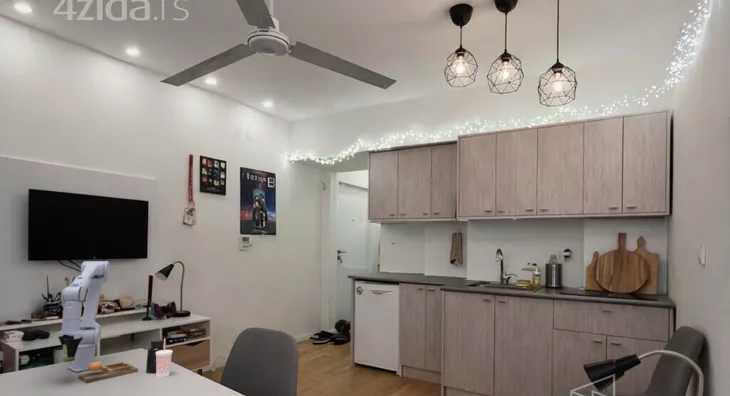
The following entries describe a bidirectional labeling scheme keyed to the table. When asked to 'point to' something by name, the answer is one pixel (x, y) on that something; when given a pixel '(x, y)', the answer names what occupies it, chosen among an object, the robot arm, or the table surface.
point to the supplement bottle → (153, 354)
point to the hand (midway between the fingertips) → (69, 355)
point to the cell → (64, 356)
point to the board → (108, 372)
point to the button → (95, 366)
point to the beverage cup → (163, 362)
